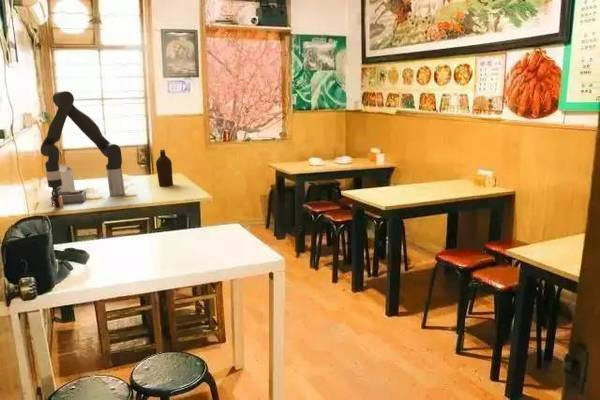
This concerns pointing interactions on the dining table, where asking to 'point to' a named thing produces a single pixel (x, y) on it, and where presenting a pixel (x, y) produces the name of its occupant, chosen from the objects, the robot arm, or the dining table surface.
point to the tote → (72, 197)
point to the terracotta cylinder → (59, 202)
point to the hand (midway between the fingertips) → (58, 206)
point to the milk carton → (66, 178)
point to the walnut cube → (75, 192)
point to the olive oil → (164, 170)
